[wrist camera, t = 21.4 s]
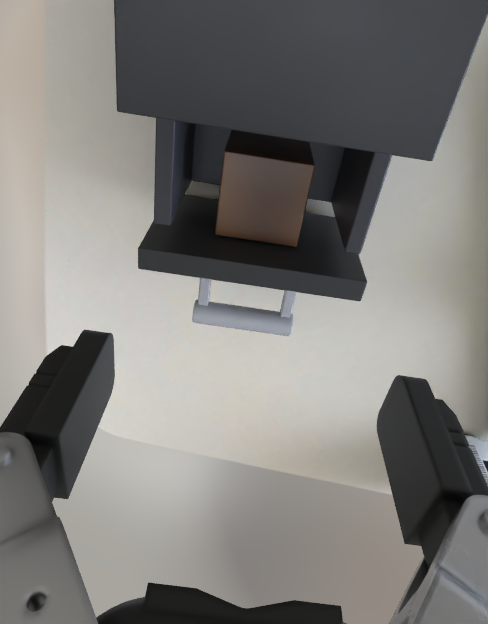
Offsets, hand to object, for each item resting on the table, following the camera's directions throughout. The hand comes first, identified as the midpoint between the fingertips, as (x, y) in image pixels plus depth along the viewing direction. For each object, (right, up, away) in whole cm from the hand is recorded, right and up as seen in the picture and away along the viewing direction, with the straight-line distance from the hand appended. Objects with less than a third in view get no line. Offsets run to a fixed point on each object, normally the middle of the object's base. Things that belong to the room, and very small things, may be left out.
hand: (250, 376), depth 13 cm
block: (+1, +10, +13) cm, 17 cm away
